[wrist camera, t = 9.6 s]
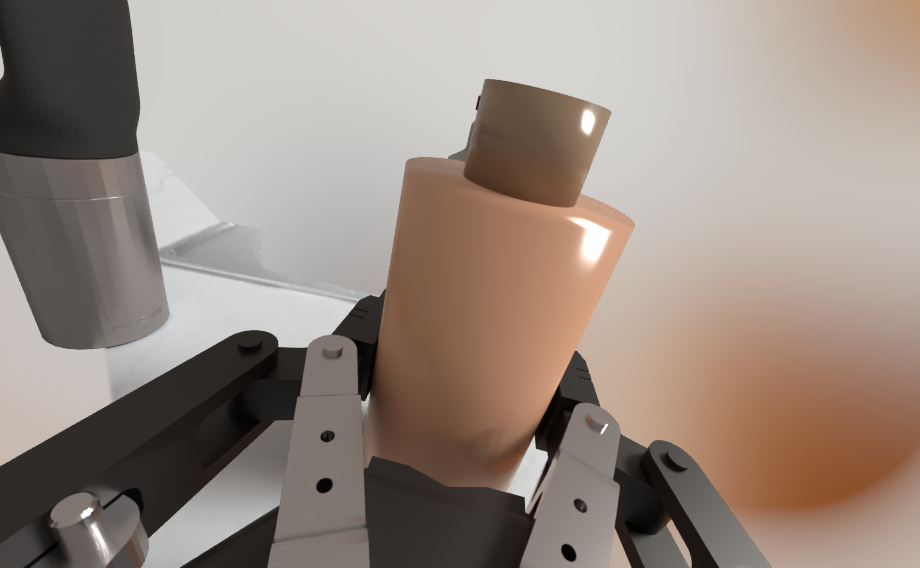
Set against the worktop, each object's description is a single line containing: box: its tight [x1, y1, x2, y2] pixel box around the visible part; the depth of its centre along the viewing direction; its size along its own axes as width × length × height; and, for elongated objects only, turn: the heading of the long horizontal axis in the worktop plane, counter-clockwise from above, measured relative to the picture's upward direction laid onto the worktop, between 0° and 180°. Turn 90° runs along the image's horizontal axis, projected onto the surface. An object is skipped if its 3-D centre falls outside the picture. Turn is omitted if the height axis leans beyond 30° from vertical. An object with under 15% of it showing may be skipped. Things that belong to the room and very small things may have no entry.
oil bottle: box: [363, 79, 635, 492], centre depth 11 cm, size 6×6×18 cm
